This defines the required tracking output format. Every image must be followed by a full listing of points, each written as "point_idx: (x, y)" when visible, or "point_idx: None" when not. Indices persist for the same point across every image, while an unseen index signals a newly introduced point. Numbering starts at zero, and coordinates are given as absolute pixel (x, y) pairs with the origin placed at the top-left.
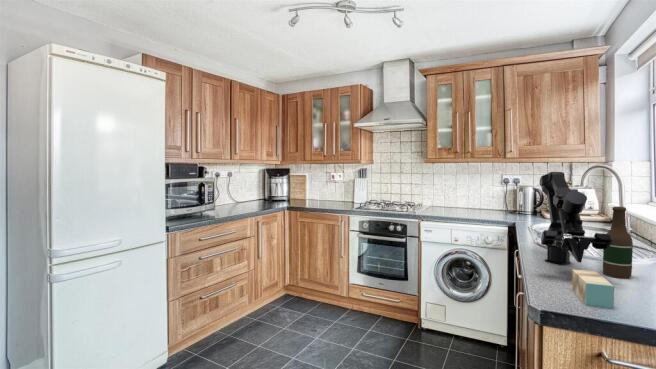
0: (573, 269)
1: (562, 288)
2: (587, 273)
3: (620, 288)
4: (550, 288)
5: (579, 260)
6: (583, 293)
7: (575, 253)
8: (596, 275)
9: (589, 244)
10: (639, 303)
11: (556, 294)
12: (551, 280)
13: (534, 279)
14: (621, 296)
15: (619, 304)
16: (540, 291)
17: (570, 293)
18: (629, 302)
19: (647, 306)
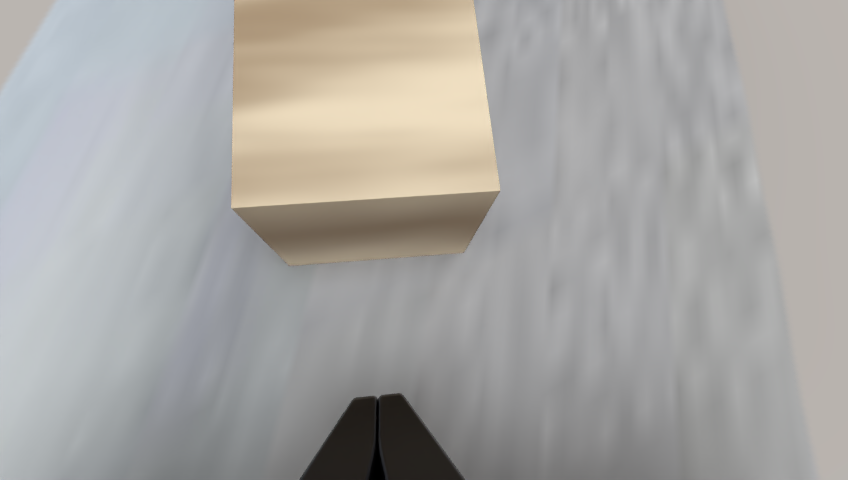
0: (485, 186)
1: (532, 206)
2: (359, 70)
3: (24, 459)
4: (616, 165)
5: (385, 395)
6: None
7: (462, 477)
8: (282, 27)
9: None
10: (66, 91)
11: (578, 48)
12: (611, 419)
13: (748, 373)
14: (128, 201)
15: (218, 18)
16: (676, 66)
17: None
18: (130, 84)
19: (41, 52)
